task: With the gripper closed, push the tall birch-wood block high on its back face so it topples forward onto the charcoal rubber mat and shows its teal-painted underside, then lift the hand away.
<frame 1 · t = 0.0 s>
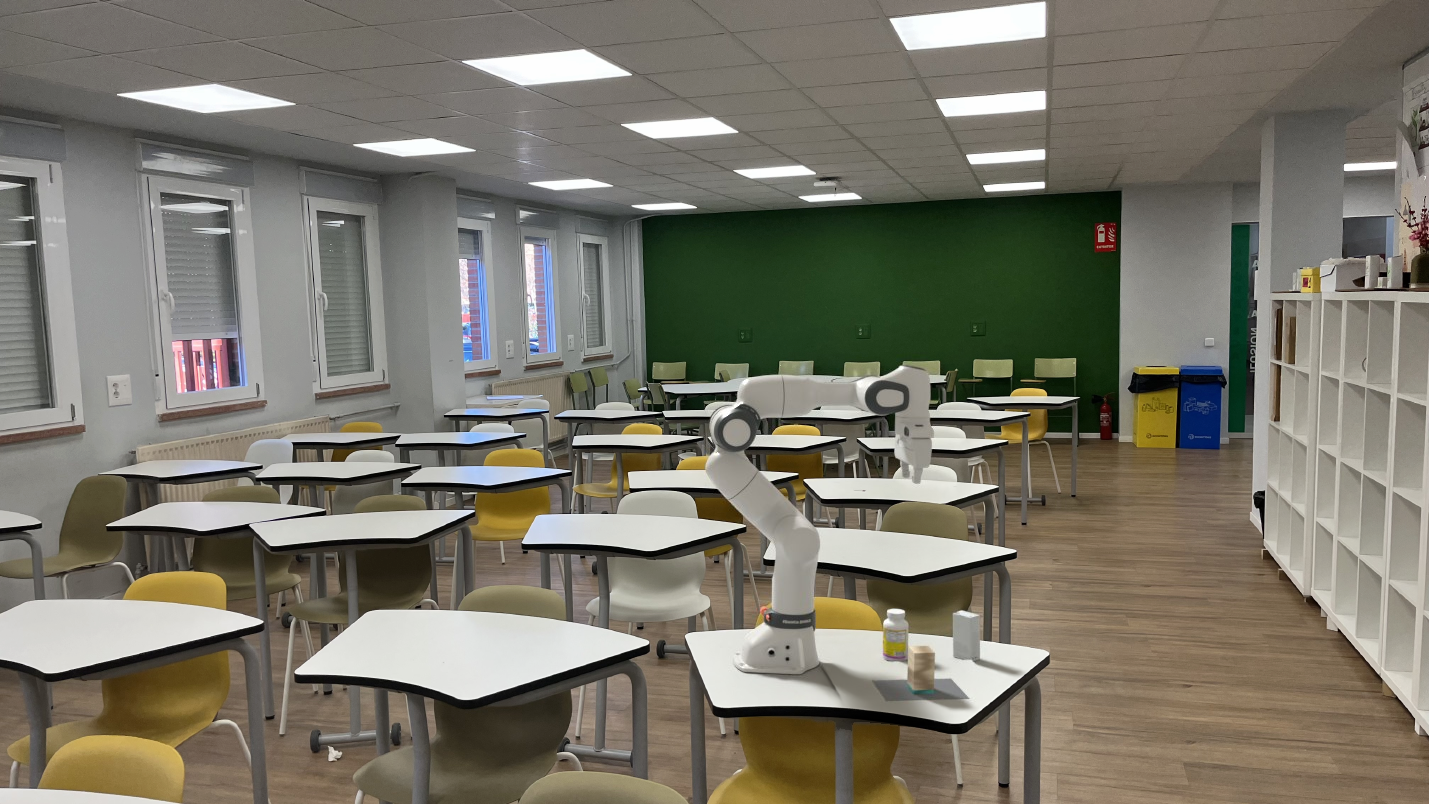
hand: (910, 480, 252), 48 cm above the table, tool pointing down, fingers open, 8 cm apart
skincare box: (965, 658, 258), on the table
supplement bottle: (895, 659, 257), on the table
rubber mat: (919, 693, 232), on the table
birch block: (920, 690, 232), point 1 cm above the table, touching rubber mat
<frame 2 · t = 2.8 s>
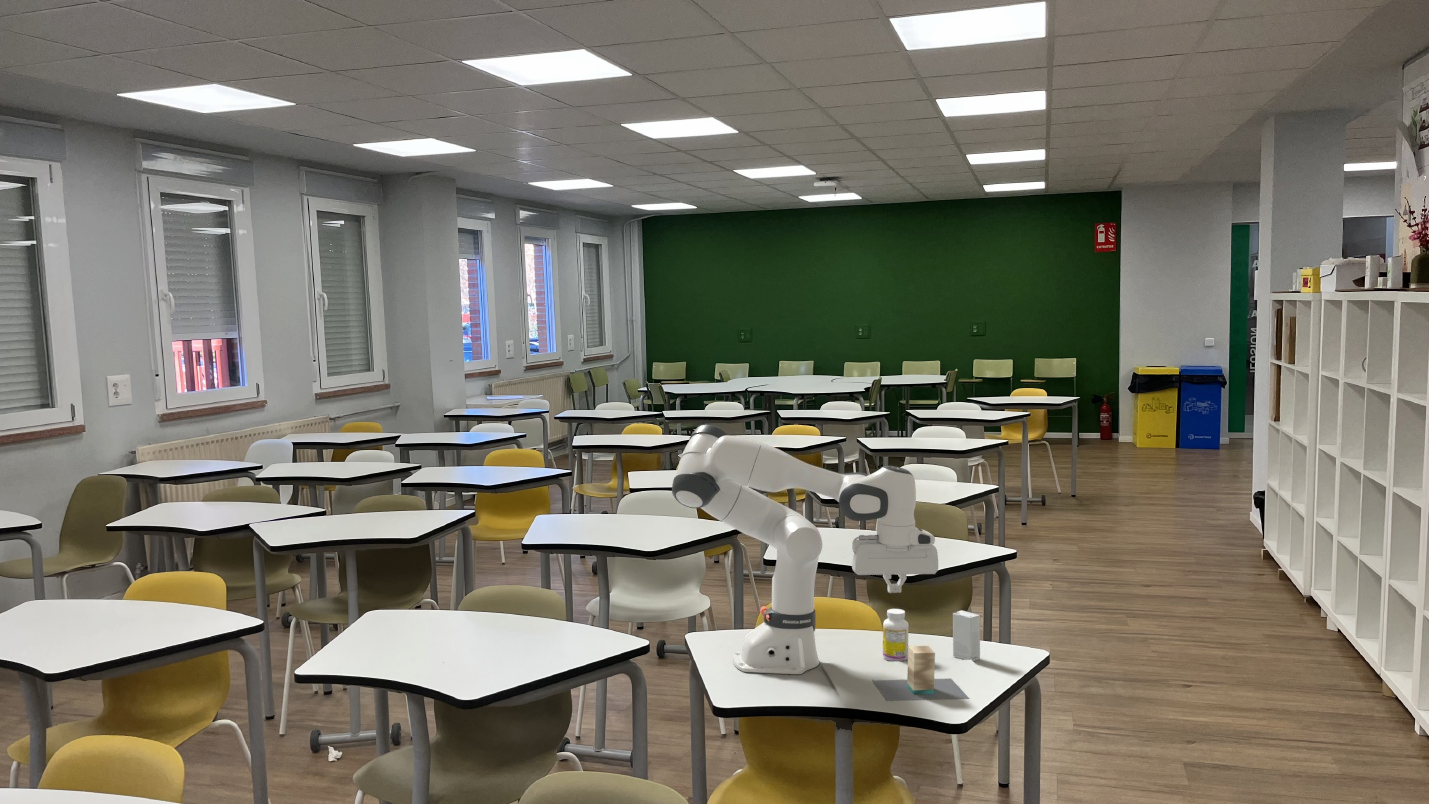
hand: (894, 592, 229), 25 cm above the table, tool pointing down, fingers closed
nothing on the table moved.
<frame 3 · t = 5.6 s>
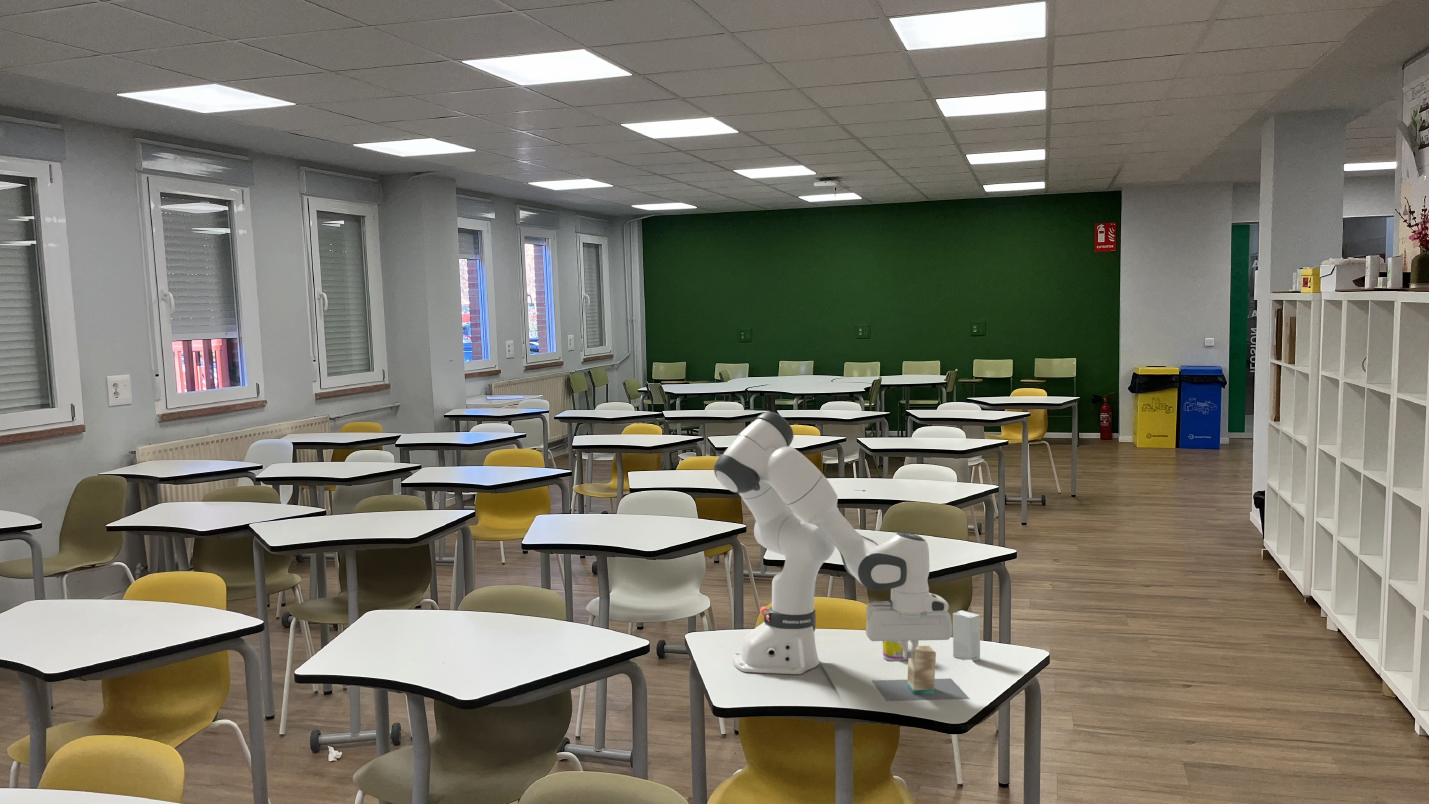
hand: (908, 657, 231), 9 cm above the table, tool pointing down, fingers closed, pressing on birch block
birch block: (920, 689, 232), point 1 cm above the table, touching gripper, rubber mat
everything else where it was.
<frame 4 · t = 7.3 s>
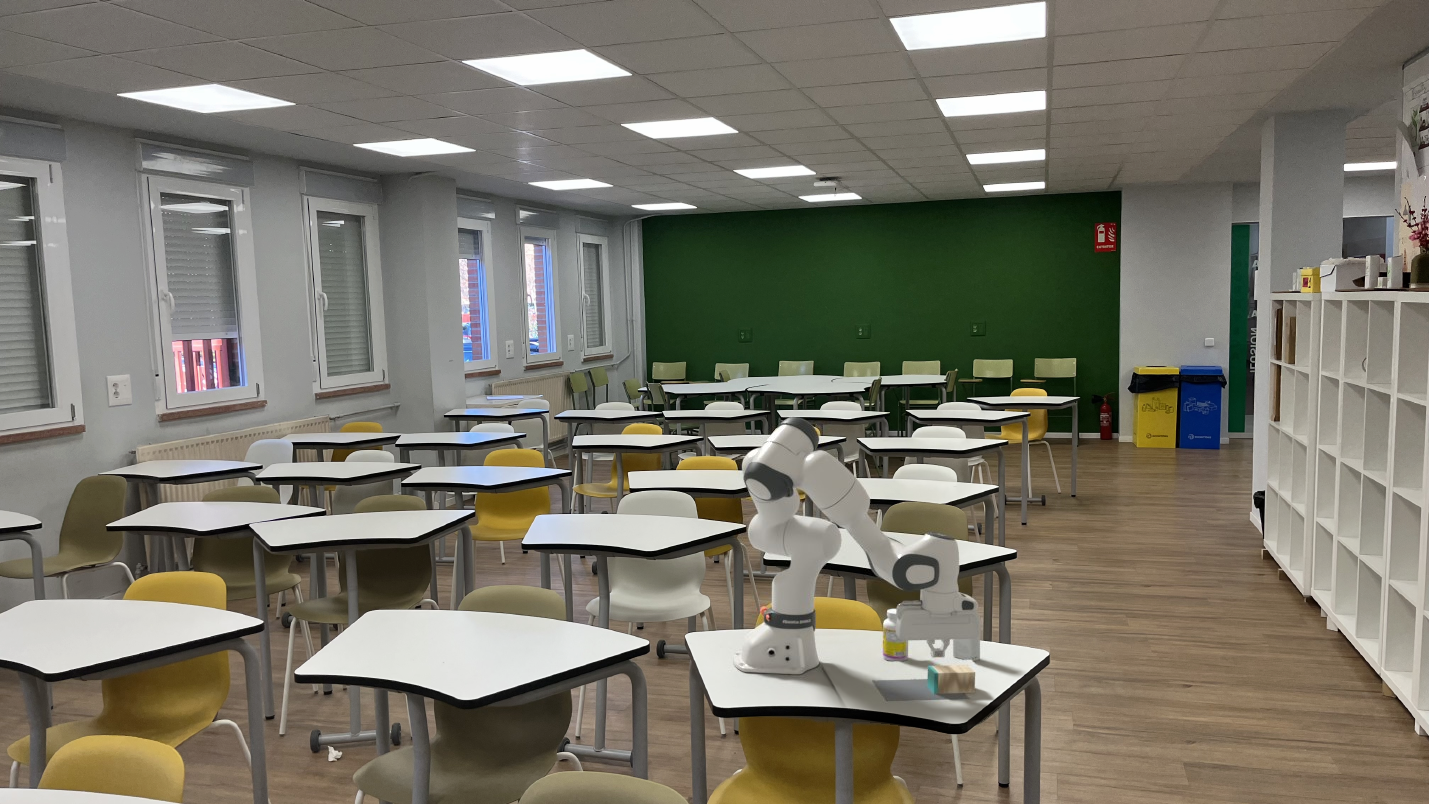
hand: (937, 656, 232), 9 cm above the table, tool pointing down, fingers closed
birch block: (930, 679, 232), point 3 cm above the table, tilted 90°, touching rubber mat
everything else where it was.
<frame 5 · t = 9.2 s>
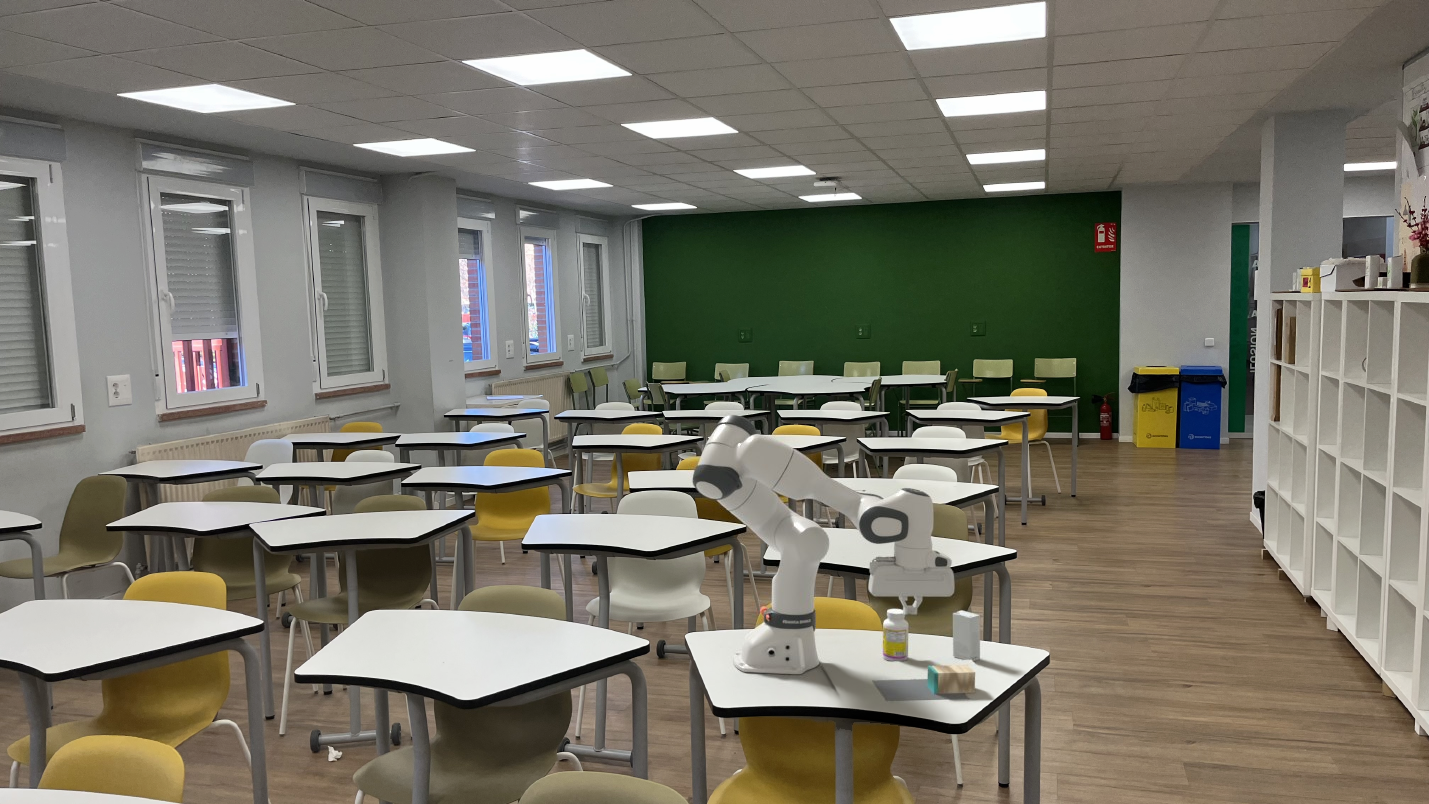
hand: (909, 613, 230), 20 cm above the table, tool pointing down, fingers closed
nothing on the table moved.
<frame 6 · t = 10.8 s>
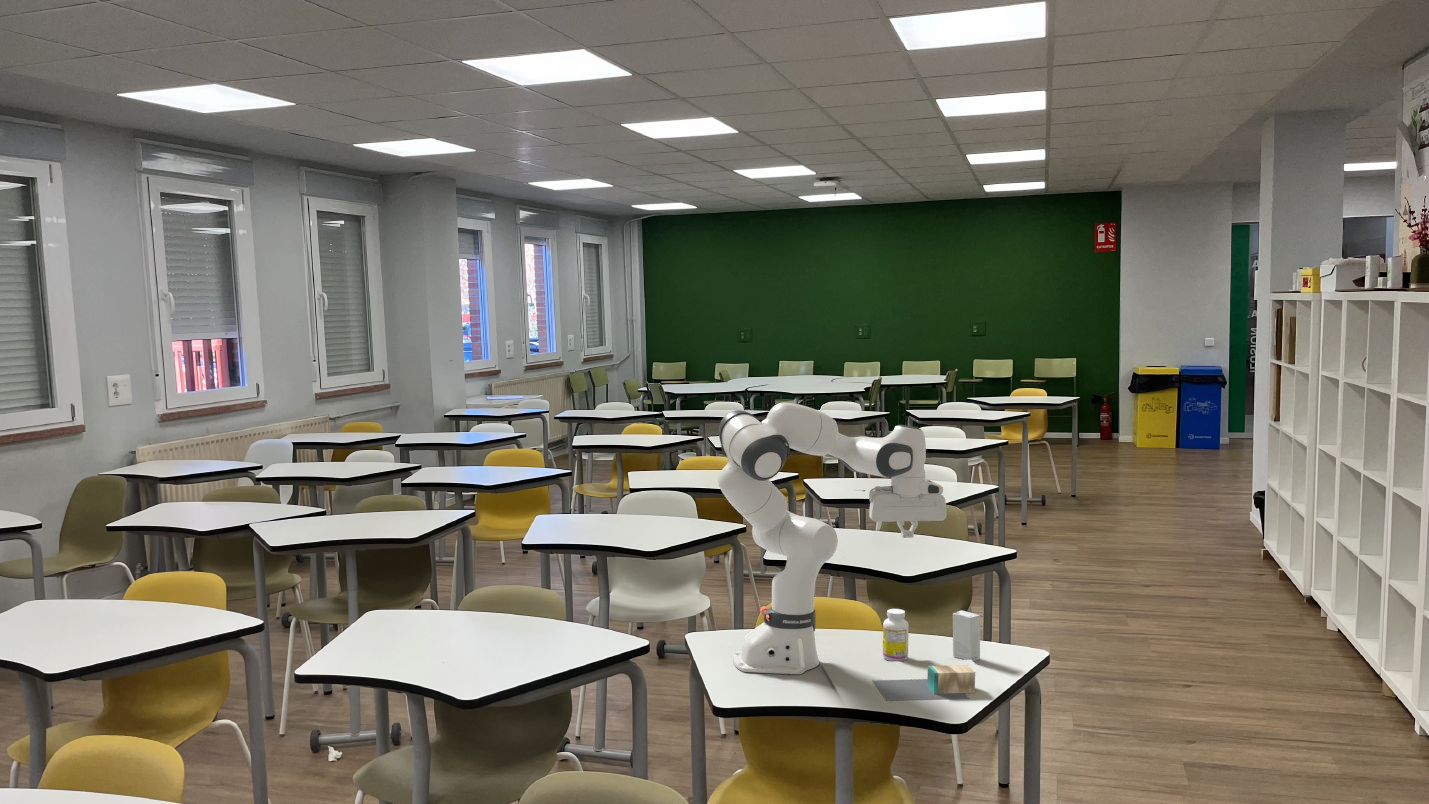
hand: (907, 537, 257), 32 cm above the table, tool pointing down, fingers closed
nothing on the table moved.
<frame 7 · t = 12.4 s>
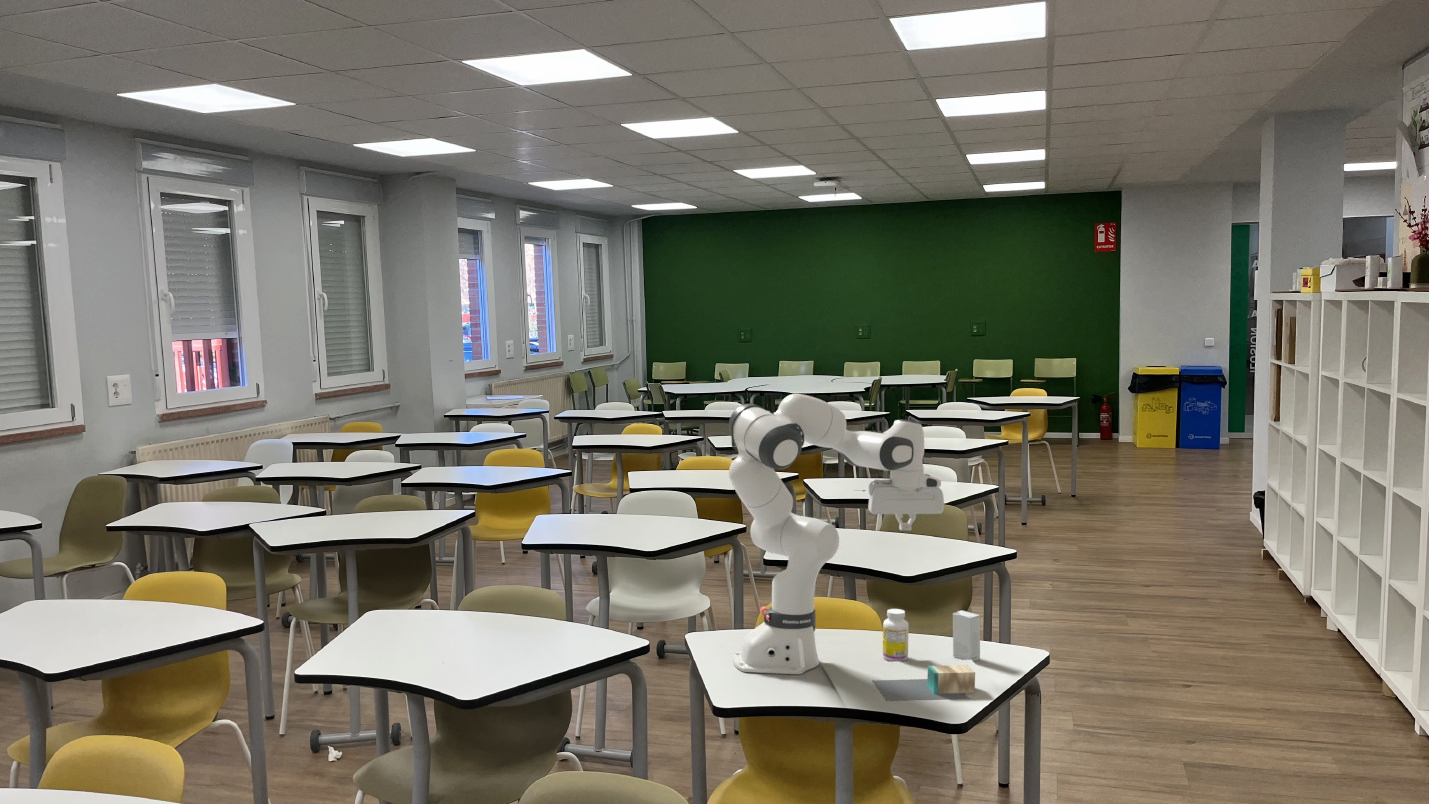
hand: (905, 530, 262), 33 cm above the table, tool pointing down, fingers closed
nothing on the table moved.
at the end: birch block tilted 90°; birch block inside the target area (2.0 cm from its centre), point 3.5 cm above the table; supplement bottle moved 0.2 cm from its start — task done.
